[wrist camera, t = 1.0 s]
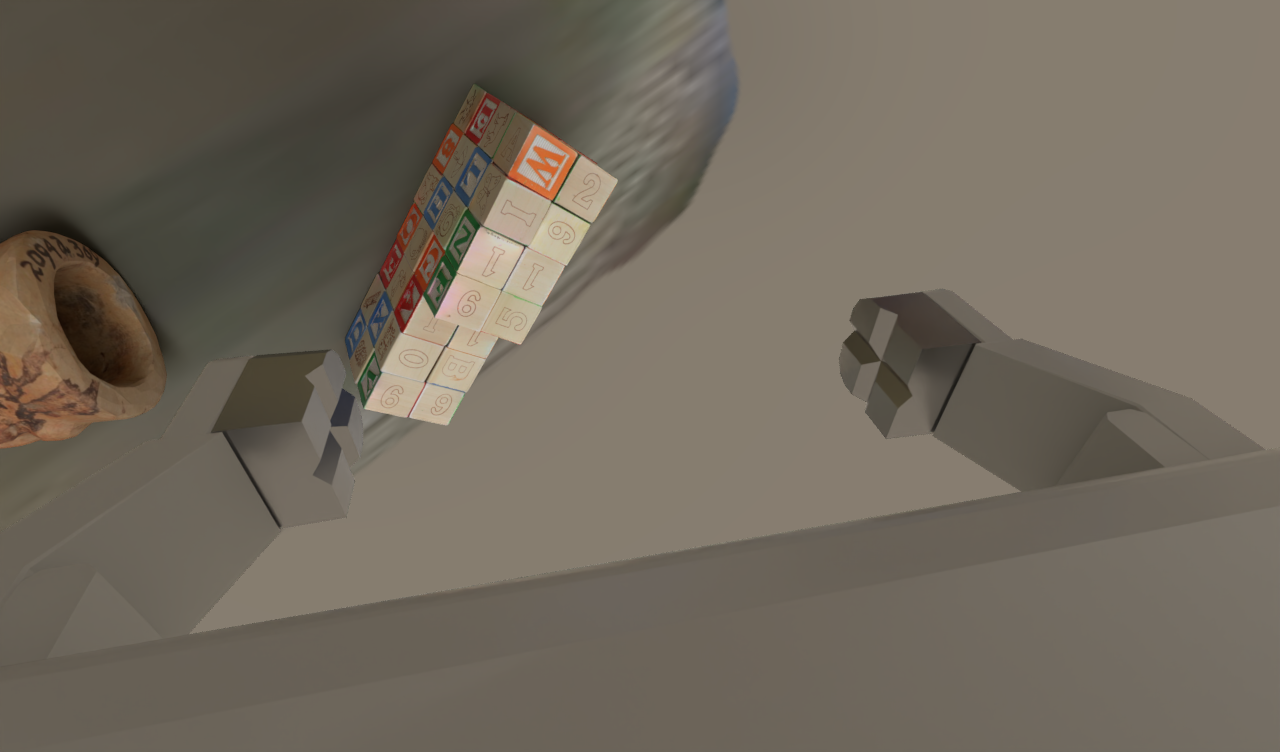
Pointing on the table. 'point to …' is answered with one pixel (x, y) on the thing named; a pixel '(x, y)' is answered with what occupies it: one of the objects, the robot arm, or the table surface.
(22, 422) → the clay pipe
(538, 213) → the stack of blocks
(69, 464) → the table surface
